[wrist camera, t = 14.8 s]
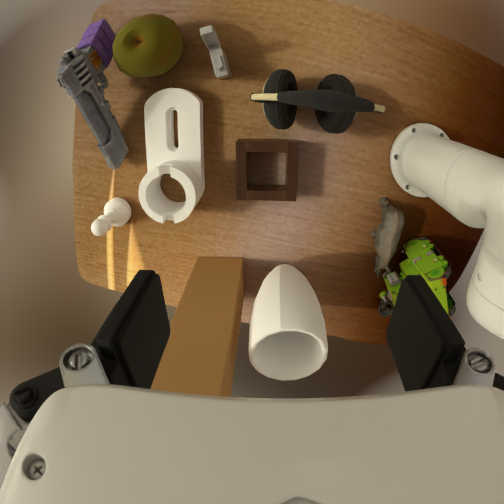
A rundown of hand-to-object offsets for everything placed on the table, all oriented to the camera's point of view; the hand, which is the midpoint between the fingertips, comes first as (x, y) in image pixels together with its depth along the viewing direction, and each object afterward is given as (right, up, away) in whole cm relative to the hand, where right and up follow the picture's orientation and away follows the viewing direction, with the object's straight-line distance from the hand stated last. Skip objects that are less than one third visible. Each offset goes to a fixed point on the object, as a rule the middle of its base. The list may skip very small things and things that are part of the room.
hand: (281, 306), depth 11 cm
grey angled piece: (-6, +31, +28) cm, 42 cm away
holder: (+1, +15, +35) cm, 38 cm away
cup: (+5, 0, +43) cm, 44 cm away
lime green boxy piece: (+32, -2, +34) cm, 47 cm away
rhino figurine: (+21, +5, +39) cm, 45 cm away
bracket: (-13, +18, +35) cm, 41 cm away
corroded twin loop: (+27, -7, +45) cm, 53 cm away
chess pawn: (-25, +10, +40) cm, 48 cm away
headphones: (+7, +24, +30) cm, 40 cm away
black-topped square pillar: (-7, -2, +45) cm, 46 cm away
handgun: (-23, +33, +31) cm, 51 cm away
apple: (-15, +33, +27) cm, 45 cm away
